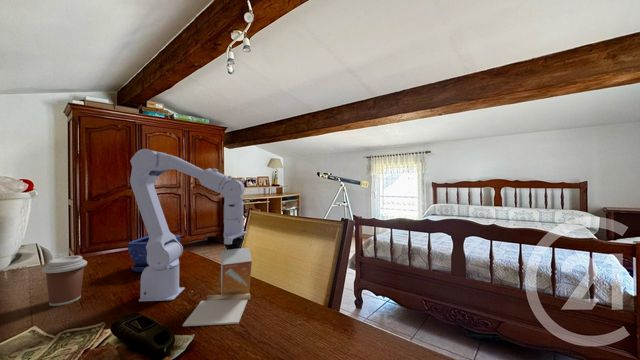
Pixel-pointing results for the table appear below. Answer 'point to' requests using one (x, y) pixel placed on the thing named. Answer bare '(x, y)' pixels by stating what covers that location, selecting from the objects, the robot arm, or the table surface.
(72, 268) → the coffee cup
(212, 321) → the mat
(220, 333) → the table surface
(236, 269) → the small box
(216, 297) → the oak strip
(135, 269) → the flower pot
